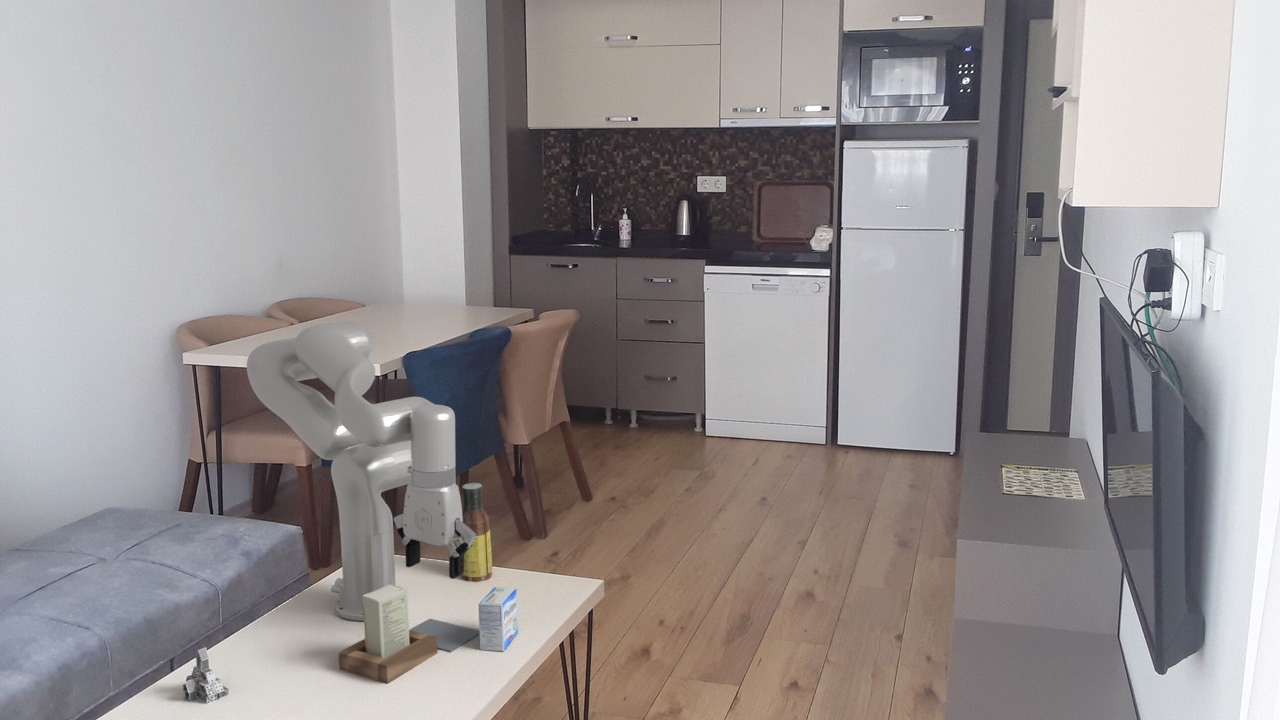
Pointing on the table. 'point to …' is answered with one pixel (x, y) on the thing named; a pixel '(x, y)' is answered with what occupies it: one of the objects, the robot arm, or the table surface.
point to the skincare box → (386, 621)
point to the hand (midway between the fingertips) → (434, 570)
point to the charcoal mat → (446, 634)
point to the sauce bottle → (477, 521)
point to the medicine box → (498, 619)
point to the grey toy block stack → (203, 681)
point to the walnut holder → (394, 665)
